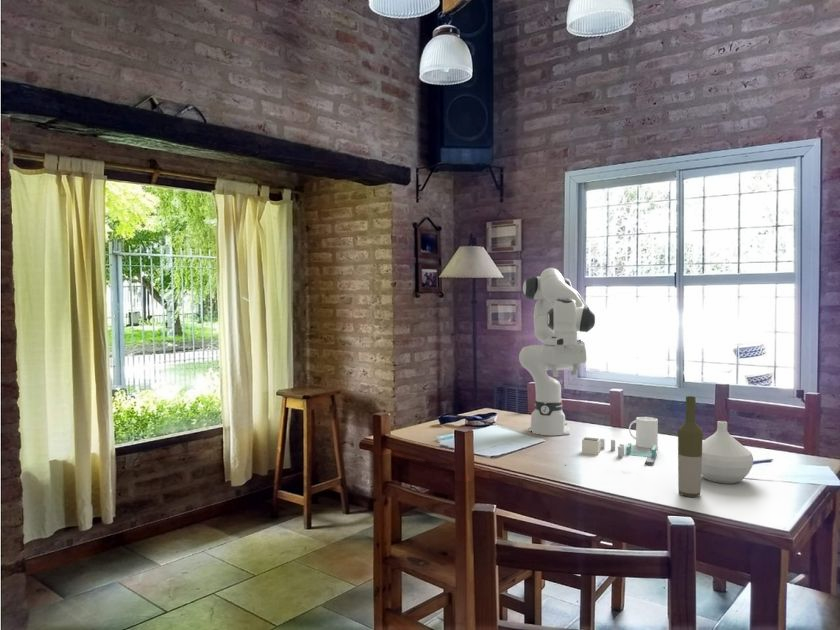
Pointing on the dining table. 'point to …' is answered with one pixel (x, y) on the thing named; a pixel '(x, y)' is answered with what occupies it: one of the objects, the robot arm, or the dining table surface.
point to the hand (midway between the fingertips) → (565, 375)
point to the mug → (646, 432)
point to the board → (622, 451)
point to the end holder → (639, 453)
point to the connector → (591, 445)
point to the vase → (724, 457)
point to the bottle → (690, 453)
